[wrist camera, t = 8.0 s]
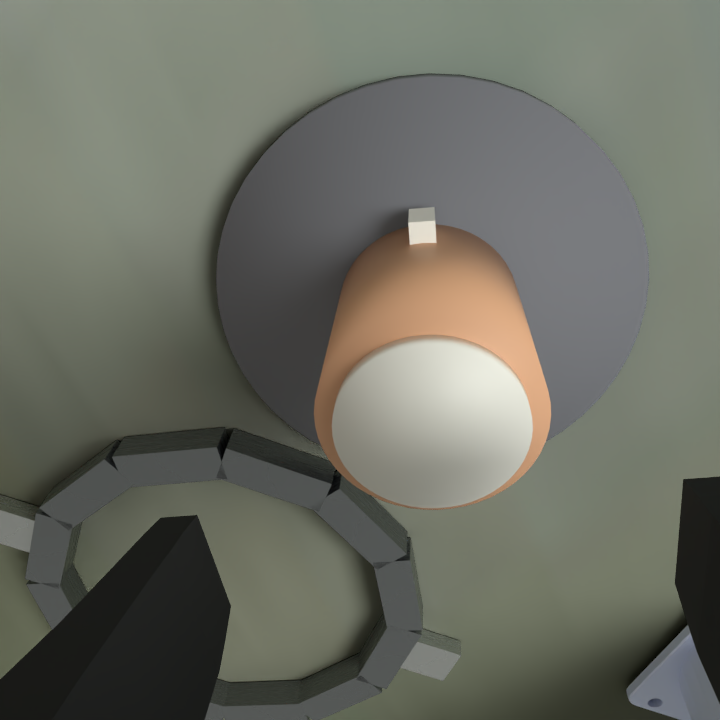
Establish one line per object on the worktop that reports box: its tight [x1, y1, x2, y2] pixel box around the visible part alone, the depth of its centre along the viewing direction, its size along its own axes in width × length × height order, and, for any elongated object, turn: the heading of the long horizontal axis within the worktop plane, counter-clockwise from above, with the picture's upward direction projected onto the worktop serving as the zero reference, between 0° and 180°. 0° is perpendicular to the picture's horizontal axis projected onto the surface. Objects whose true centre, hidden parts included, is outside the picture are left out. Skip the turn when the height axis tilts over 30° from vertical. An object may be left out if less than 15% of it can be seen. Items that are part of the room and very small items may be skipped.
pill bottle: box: [314, 207, 551, 510], centre depth 15 cm, size 6×5×5 cm
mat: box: [216, 74, 649, 446], centre depth 18 cm, size 11×11×1 cm
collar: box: [0, 427, 461, 720], centre depth 24 cm, size 17×13×1 cm
